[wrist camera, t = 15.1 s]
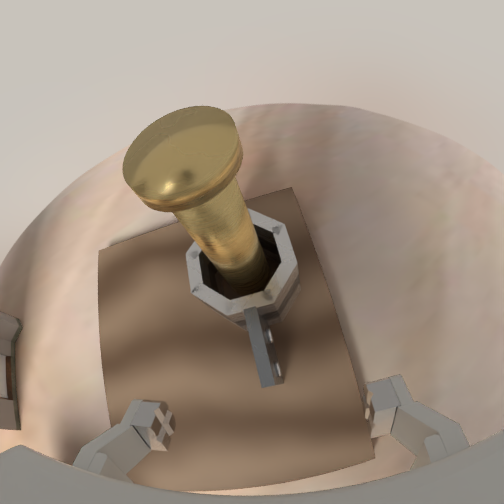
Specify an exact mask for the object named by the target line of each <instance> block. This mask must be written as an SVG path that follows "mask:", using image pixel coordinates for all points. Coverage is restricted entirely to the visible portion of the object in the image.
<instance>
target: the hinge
mask: <svg viewBox="0 0 504 504" xmlns="http://www.w3.org/2000/svg"><path fill="white" fill-rule="evenodd" d="M247 210H248V212H249V215H250V217H251V220H252V223H253V225H254V228H255V231H256V233H257V236H258V239H259V241H260V244H261V247H262V249H263V252H264V255H265V257H266V258H268V259H270V260H272V261H274V262H276V263H278V264H280V265H279V267H278V269H277V270H276V272H275V273H274V275H273V277H272V278H271V280H270V282H269V283H268V285H267V287H266V288H265V290H264V291H262V292H258V293H254V294H251V295H247V296H244V297H240V298H236V299H232V300H229V299H227V298H225V295H224V290H223V285H222V282H223V280H224V279H225V278H224V277H223V276H222V275H221V273H220V272H219V271H218V270H217V268H216V267H215V266H214V265H213V263H212V262H211V261H210V260H209V258H208V257H207V256H206V255H205V253H204V252H203V251H202V250H201V248H200V247H199V246H198V245H197V243H196V242H195V241H194V242H193V244H192V245H191V247H190V248H189V250H188V251H187V252H186V261H187V268H188V276H189V283H190V289H191V294H193V295H194V296H195V297H197V298H198V299H199V300H200V301H202V302H203V303H204V304H206V305H207V306H208V307H209V308H211V309H212V310H213V311H215V312H216V313H218V314H219V315H221V316H223V317H224V318H226V319H227V320H229V321H231V322H232V323H234V324H236V325H237V326H239V327H241V328H242V329H244V330H246V331H248V332H249V337H250V341H251V345H252V350H253V354H254V358H255V363H256V367H257V371H258V375H259V379H260V384H261V388H265V387H271V386H276V385H280V384H284V382H283V378H282V373H281V368H280V365H279V362H278V358H277V354H276V350H275V346H274V341H273V336H272V333H271V330H270V326H269V325H272V324H275V323H279V322H283V320H284V318H285V316H286V315H287V313H288V311H289V310H290V308H291V306H292V305H293V303H294V301H295V299H296V298H297V296H298V294H299V292H300V291H301V286H300V278H299V271H298V263H297V260H296V257H295V254H294V251H293V248H292V245H291V242H290V239H289V236H288V233H287V230H286V227H285V224H283V223H281V222H279V221H277V220H274V219H272V218H270V217H267V216H265V215H263V214H260V213H258V212H256V211H253V210H251V209H249V208H248V209H247Z"/></svg>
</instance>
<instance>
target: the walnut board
mask: <svg viewBox="0 0 504 504" xmlns="http://www.w3.org/2000/svg"><path fill="white" fill-rule="evenodd" d="M244 202H245V204H246V207H247V209H248V208H249V209H251V210H253V211H256V212H258V213H260V214H263V215H265V216H267V217H270V218H272V219H274V220H277V221H279V222H281V223H283V224H285V227H286V230H287V233H288V236H289V239H290V242H291V245H292V248H293V251H294V254H295V257H296V260H297V263H298V271H299V278H300V286H301V291H300V292H299V294H298V296H297V298H296V299H295V301H294V303H293V305H292V306H291V308H290V310H289V311H288V313H287V315H286V316H285V318H284V320H283V322H279V323H275V324H272V325H269V326H270V330H271V333H272V336H273V341H274V346H275V350H276V354H277V358H278V362H279V365H280V368H281V373H282V378H283V382H284V384H280V385H276V386H271V387H265V388H261V384H260V379H259V375H258V371H257V367H256V363H255V358H254V354H253V350H252V345H251V341H250V337H249V332H248V331H246V330H244V329H242V328H241V327H239V326H237V325H236V324H234V323H232V322H231V321H229V320H227V319H226V318H224V317H223V316H221V315H219V314H218V313H216V312H215V311H213V310H212V309H211V308H209V307H208V306H207V305H206V304H204V303H203V302H202V301H200V300H199V299H198V298H197V297H195V296H194V295H193V294H191V289H190V283H189V276H188V268H187V261H186V252H187V251H188V250H189V248H190V247H191V245H192V244H193V242H194V239H193V238H192V237H191V236H190V234H189V233H188V232H187V231H186V229H185V228H184V227H183V225H182V224H181V223H180V222H177V223H174V224H171V225H168V226H166V227H163V228H160V229H157V230H154V231H151V232H148V233H146V234H143V235H140V236H137V237H134V238H132V239H129V240H126V241H123V242H121V243H118V244H115V245H113V246H110V247H107V248H105V249H102V250H99V257H98V313H99V334H100V348H101V359H102V368H103V377H104V385H105V392H106V399H107V405H108V411H109V417H110V422H111V428H112V427H113V426H115V425H116V424H120V423H121V421H122V419H123V417H124V415H125V413H126V411H127V409H128V407H129V405H130V403H131V401H132V400H134V399H142V400H155V401H165V402H166V403H167V405H168V406H169V407H168V410H169V411H170V412H172V413H173V415H174V417H175V421H176V427H175V431H174V433H173V434H171V435H170V438H171V443H170V446H169V449H168V451H158V450H151V451H150V452H149V453H148V454H147V455H146V456H145V457H144V458H143V459H142V460H141V461H140V462H139V463H138V464H137V465H135V466H134V467H133V468H132V469H131V470H130V471H129V472H128V473H127V474H126V475H127V476H128V477H129V478H130V479H131V480H132V481H133V483H134V484H139V485H144V486H149V487H154V488H160V489H166V490H173V491H216V490H231V489H242V488H251V487H259V486H266V485H273V484H279V483H285V482H290V481H295V480H300V479H305V478H309V477H313V476H318V475H322V474H326V473H329V472H333V471H337V470H340V469H344V468H347V467H350V466H353V465H356V464H360V463H363V462H366V461H368V460H371V459H374V458H375V454H374V450H373V445H372V441H371V438H370V435H369V431H368V428H367V420H366V418H365V416H364V412H363V404H362V400H361V396H360V392H359V389H358V385H357V381H356V377H355V374H354V370H353V367H352V363H351V360H350V356H349V353H348V349H347V346H346V343H345V339H344V336H343V333H342V329H341V326H340V323H339V320H338V317H337V313H336V310H335V307H334V304H333V301H332V298H331V295H330V292H329V289H328V286H327V283H326V280H325V277H324V274H323V271H322V268H321V265H320V262H319V259H318V257H317V254H316V251H315V248H314V245H313V243H312V240H311V237H310V234H309V232H308V229H307V226H306V223H305V221H304V218H303V215H302V213H301V210H300V208H299V205H298V202H297V200H296V197H295V195H294V192H293V190H292V187H291V188H287V189H283V190H280V191H276V192H273V193H270V194H266V195H263V196H259V197H256V198H253V199H249V200H246V201H244ZM266 260H267V263H268V266H269V268H270V271H271V274H272V276H273V275H274V273H275V272H276V270H277V269H278V267H279V265H280V264H278V263H276V262H274V261H272V260H270V259H268V258H266ZM222 285H223V290H224V295H225V298H227V299H229V300H232V299H236V298H240V297H239V295H238V294H237V293H236V292H235V291H234V289H233V288H232V287H231V286H230V284H229V283H228V282H227V281H226V280H225V279H224V280H223V282H222Z"/></svg>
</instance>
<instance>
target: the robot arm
mask: <svg viewBox="0 0 504 504" xmlns="http://www.w3.org/2000/svg"><path fill="white" fill-rule="evenodd" d="M363 390H364V394H365V395H364V396H363V400H362V404H363V412H364V416H365V418H366V419H367V420H368V423H367V428H368V431H369V435H370V438H375V437H379V436H384V435H388V434H391V436H393V437H394V438H395V439H396V440H397V441H399V442H400V443H401V444H402V445H404V446H405V447H406V448H407V449H408V450H410V451H411V452H412V453H413V454H415V455H416V456H417V457H416V459H415V461H414V463H413V465H412V467H411V469H410V471H407V472H404V473H400V474H397V475H394V476H390V477H386V478H383V479H379V480H375V481H371V482H366V483H362V484H357V485H352V486H347V487H342V488H336V489H330V490H323V491H315V492H307V493H297V494H285V495H264V496H232V495H211V494H199V493H189V492H180V491H173V490H166V489H160V488H154V487H149V486H144V485H139V484H134V483H133V481H132V480H131V479H130V478H129V477H128V476H127V475H126V474H127V473H128V472H129V471H130V470H131V469H132V468H133V467H134V466H135V465H137V464H138V463H139V462H140V461H141V460H142V459H143V458H144V457H145V456H146V455H147V454H148V453H149V452H150V451H151V450H158V451H168V449H169V446H170V443H171V438H170V435H171V434H173V433H174V431H175V427H176V421H175V417H174V415H173V413H172V412H170V411H169V410H168V407H169V406H168V405H167V403H166V402H165V401H155V400H142V399H134V400H132V401H131V403H130V405H129V407H128V409H127V411H126V413H125V415H124V417H123V419H122V421H121V423H120V424H116V425H115V426H113V427H112V428H110V429H109V430H107V431H106V432H104V433H103V434H101V435H100V436H98V437H97V438H95V439H94V440H92V441H91V442H89V443H87V444H86V445H84V446H83V447H82V448H81V450H80V452H79V453H78V455H77V457H76V459H75V461H74V463H73V465H69V464H66V463H63V462H61V461H58V460H56V459H53V458H51V457H49V456H46V455H44V454H42V453H39V452H37V451H35V450H33V449H31V448H29V447H26V446H24V445H18V446H15V447H13V448H10V449H8V450H6V451H4V452H2V453H0V504H504V429H502V430H501V431H499V432H497V433H495V434H494V435H492V436H490V437H488V438H486V439H484V440H482V441H480V442H478V443H476V444H474V445H472V446H470V445H469V443H468V441H467V439H466V437H465V435H464V433H463V431H462V429H461V427H460V425H459V424H458V423H456V422H454V421H452V420H451V419H449V418H447V417H445V416H443V415H441V414H439V413H438V412H436V411H434V410H432V409H430V408H429V407H427V406H425V405H423V404H421V403H420V402H418V401H416V402H414V401H413V399H412V397H411V395H410V393H409V390H408V388H407V386H406V384H405V382H404V380H403V378H402V376H401V375H396V376H392V377H388V378H384V379H380V380H376V381H372V382H367V383H364V387H363Z"/></svg>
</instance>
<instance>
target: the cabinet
mask: <svg viewBox="0 0 504 504" xmlns="http://www.w3.org/2000/svg"><path fill="white" fill-rule="evenodd" d="M22 328H23V327H22V325H21V322H20V320H19V319H17V318H15V317H12V316H10V315H7V314H5V313H3V312H0V429H8V430H21V428H20V421H19V413H18V404H17V394H16V379H15V341H16V340H17V338H18V336H19V334H20V332H21V330H22Z"/></svg>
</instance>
